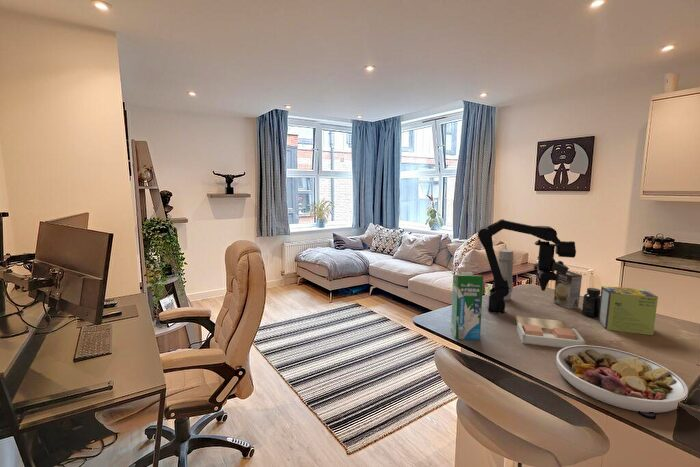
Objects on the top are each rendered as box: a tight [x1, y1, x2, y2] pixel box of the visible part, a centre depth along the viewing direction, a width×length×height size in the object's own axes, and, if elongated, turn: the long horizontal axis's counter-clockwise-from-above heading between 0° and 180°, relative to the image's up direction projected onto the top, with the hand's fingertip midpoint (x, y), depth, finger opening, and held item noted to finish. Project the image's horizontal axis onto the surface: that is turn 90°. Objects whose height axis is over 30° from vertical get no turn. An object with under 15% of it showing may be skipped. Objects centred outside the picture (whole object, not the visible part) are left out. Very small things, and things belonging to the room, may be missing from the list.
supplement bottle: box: [581, 287, 601, 319], centre depth 151 cm, size 7×7×12 cm
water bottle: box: [497, 248, 516, 302], centre depth 171 cm, size 9×8×25 cm
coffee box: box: [553, 270, 583, 310], centre depth 163 cm, size 9×6×16 cm
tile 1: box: [523, 324, 544, 336], centre depth 132 cm, size 6×6×2 cm
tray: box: [516, 322, 587, 349], centre depth 128 cm, size 20×12×3 cm, turn 73°
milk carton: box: [450, 271, 484, 341], centre depth 132 cm, size 9×9×25 cm
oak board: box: [515, 315, 571, 333], centre depth 139 cm, size 18×10×2 cm, turn 73°
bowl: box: [555, 344, 689, 414], centre depth 100 cm, size 30×30×8 cm
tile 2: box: [552, 328, 576, 340], centre depth 129 cm, size 6×6×2 cm
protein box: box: [597, 285, 659, 336], centre depth 138 cm, size 10×15×16 cm
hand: (543, 290), depth 149 cm, fingers closed
